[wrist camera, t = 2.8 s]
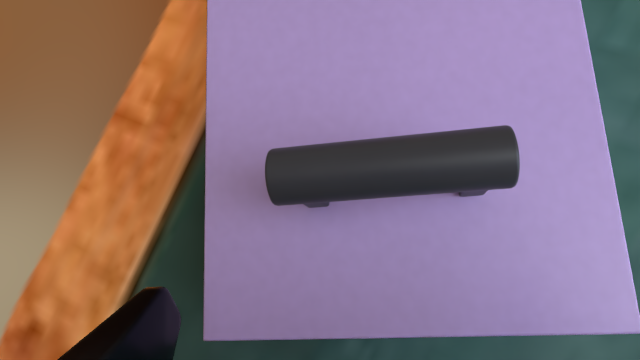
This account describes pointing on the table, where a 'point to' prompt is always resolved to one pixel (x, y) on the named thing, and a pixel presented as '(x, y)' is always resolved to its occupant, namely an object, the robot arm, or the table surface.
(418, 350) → the table surface
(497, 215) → the purple square slab
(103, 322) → the robot arm
